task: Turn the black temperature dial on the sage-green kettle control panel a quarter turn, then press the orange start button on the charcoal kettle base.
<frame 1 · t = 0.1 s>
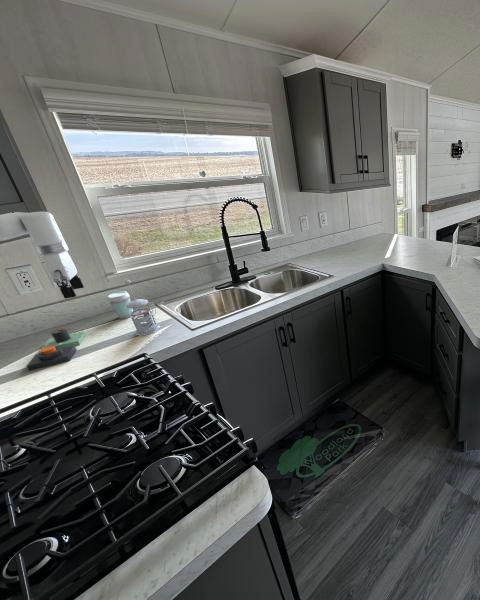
hand: (74, 292, 122), 28 cm above the countertop, tool pointing down, fingers open, 9 cm apart
coffee cup: (126, 316, 165), on the countertop
kettle base: (54, 359, 131), on the countertop
temp dial: (60, 334, 140), point 4 cm above the countertop, hinge at 0.0°
start button: (48, 350, 129), point 4 cm above the countertop, slide at 0.1 cm
french press: (149, 329, 151), on the countertop
dial panel: (65, 343, 142), on the countertop
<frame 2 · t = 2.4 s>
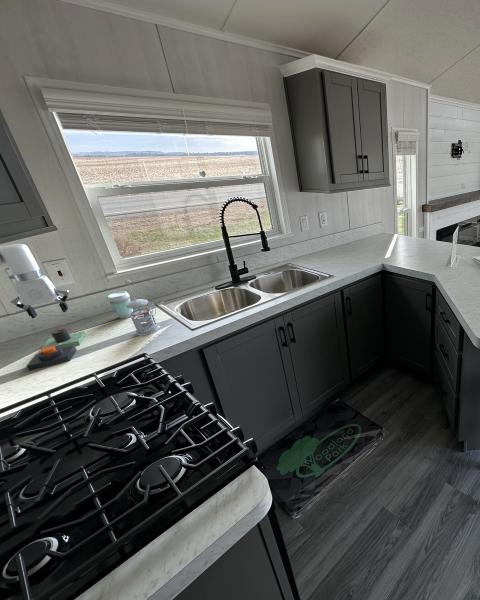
hand: (50, 313, 136), 15 cm above the countertop, tool pointing down, fingers open, 9 cm apart
nothing on the countertop moved.
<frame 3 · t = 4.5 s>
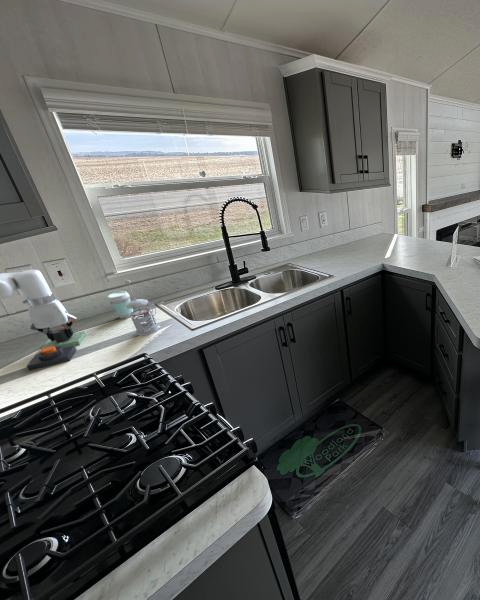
hand: (62, 337, 141), 3 cm above the countertop, tool pointing down, fingers closed on temp dial, 4 cm apart
temp dial: (60, 334, 140), point 4 cm above the countertop, hinge at 0.0°, touching gripper
everything else where it was.
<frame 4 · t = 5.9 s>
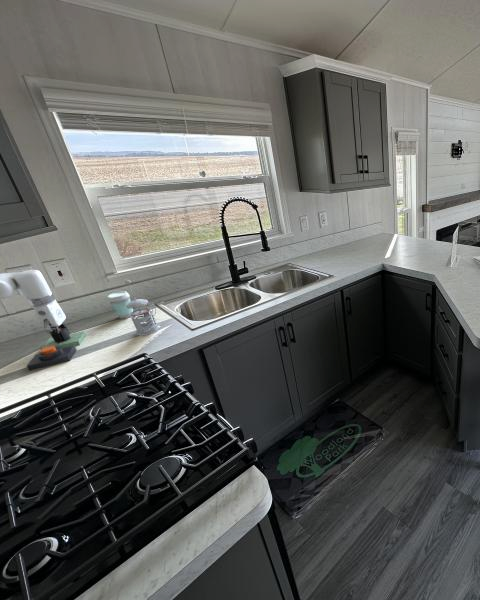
hand: (62, 337, 141), 3 cm above the countertop, tool pointing down, fingers closed on temp dial, 4 cm apart
temp dial: (60, 334, 140), point 4 cm above the countertop, hinge at 91.0°, touching gripper
everything else where it was.
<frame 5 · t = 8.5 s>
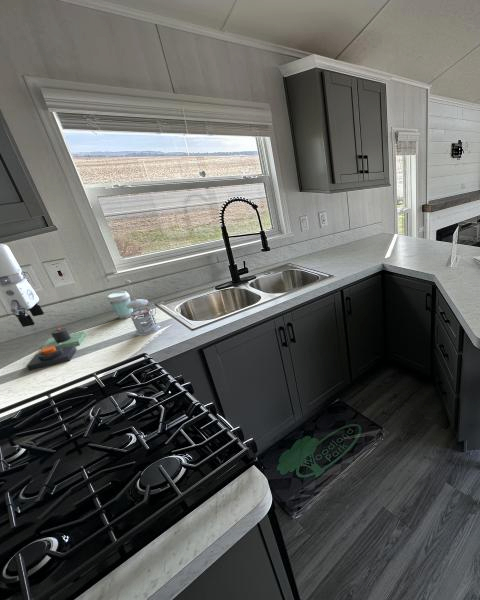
hand: (34, 320, 125), 17 cm above the countertop, tool pointing down, fingers open, 9 cm apart
temp dial: (60, 334, 140), point 4 cm above the countertop, hinge at 91.6°
everything else where it was.
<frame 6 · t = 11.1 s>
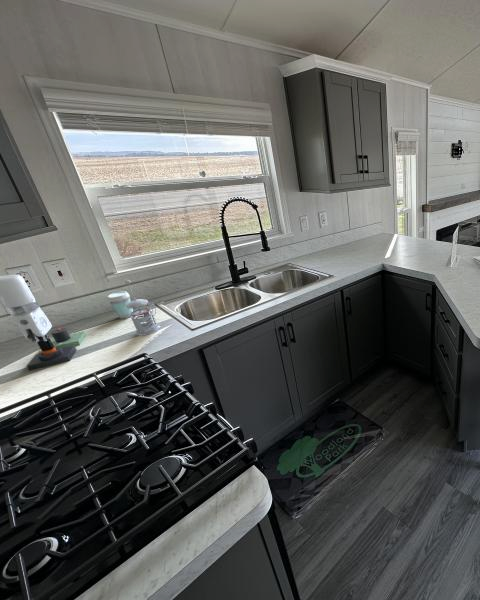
hand: (48, 349, 129), 5 cm above the countertop, tool pointing down, fingers closed
start button: (49, 351, 129), point 4 cm above the countertop, slide at -0.2 cm, touching gripper
everything else where it was.
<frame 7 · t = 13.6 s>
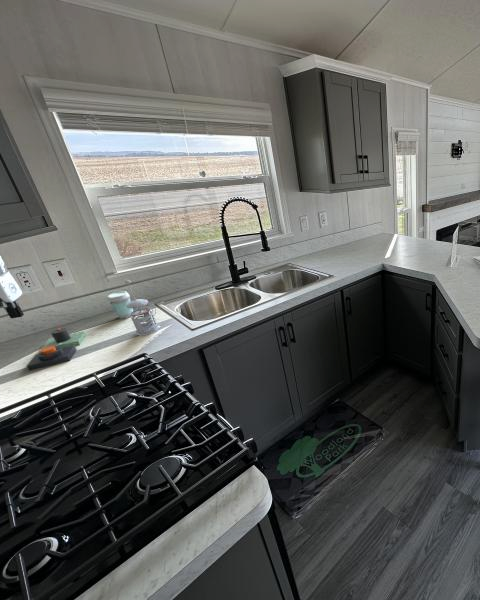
hand: (17, 316, 125), 19 cm above the countertop, tool pointing down, fingers closed
start button: (48, 350, 129), point 4 cm above the countertop, slide at 0.1 cm
everything else where it was.
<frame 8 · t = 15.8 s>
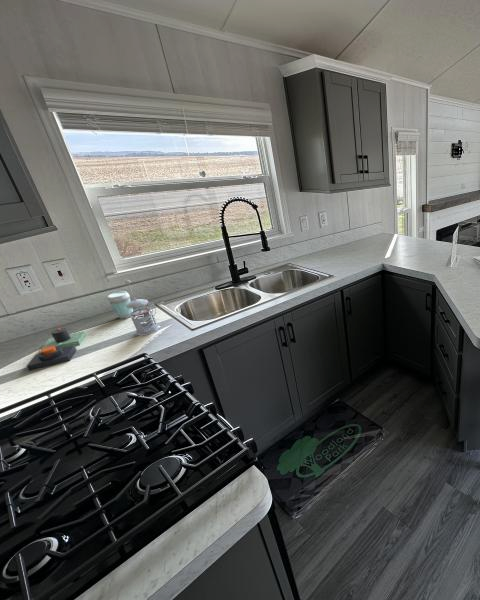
nothing on the countertop moved.
at the end: temp dial at +92° (first picture: +0°); start button pushed in 1.1 cm at the most during the clip, back to where it started at the end; start button slide at 0.1 cm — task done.
